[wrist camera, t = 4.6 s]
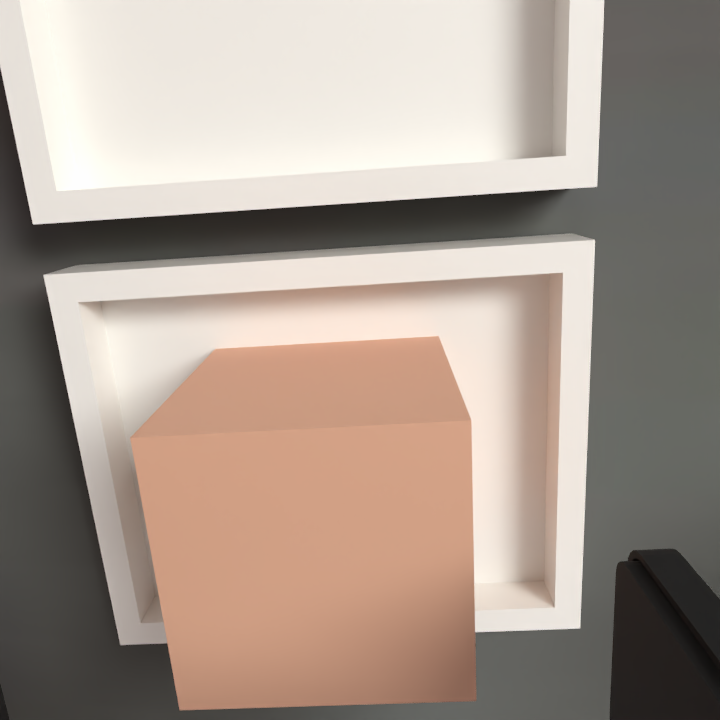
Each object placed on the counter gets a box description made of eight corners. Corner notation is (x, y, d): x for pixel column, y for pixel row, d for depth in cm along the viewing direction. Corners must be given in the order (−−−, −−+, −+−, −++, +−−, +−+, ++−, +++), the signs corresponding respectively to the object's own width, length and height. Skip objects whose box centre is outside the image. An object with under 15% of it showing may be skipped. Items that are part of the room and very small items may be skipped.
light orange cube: (208, 349, 14) (120, 438, 9) (438, 336, 14) (471, 420, 9) (235, 544, 15) (170, 710, 11) (445, 535, 15) (476, 700, 10)
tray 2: (77, 265, 14) (43, 275, 13) (571, 233, 14) (594, 240, 12) (142, 604, 16) (120, 645, 15) (562, 588, 16) (580, 628, 15)
